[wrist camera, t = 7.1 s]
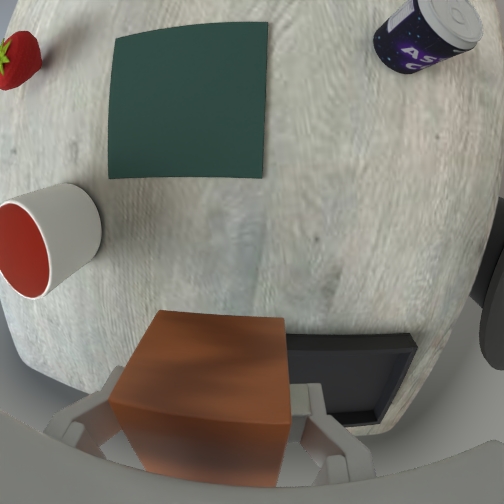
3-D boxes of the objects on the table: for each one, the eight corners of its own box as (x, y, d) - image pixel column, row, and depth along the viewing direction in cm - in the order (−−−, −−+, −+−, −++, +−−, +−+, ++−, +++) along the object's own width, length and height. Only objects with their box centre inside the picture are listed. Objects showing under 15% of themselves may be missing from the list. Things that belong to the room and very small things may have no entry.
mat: (267, 23, 21) (268, 22, 20) (262, 178, 26) (262, 178, 26) (117, 39, 21) (115, 38, 21) (110, 178, 27) (108, 179, 27)
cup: (102, 273, 31) (55, 315, 22) (44, 248, 31) (-6, 279, 21) (111, 192, 28) (52, 214, 18) (49, 174, 27) (-11, 190, 18)
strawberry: (65, 37, 21) (12, 19, 11) (47, 92, 23) (-11, 88, 14) (37, 41, 21) (-14, 29, 11) (21, 92, 23) (-33, 91, 14)
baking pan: (409, 332, 32) (418, 346, 29) (375, 410, 37) (380, 424, 34) (256, 332, 32) (255, 348, 30) (251, 412, 38) (250, 427, 35)
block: (284, 316, 11) (292, 423, 6) (275, 400, 13) (275, 489, 8) (158, 308, 11) (105, 399, 6) (174, 391, 13) (147, 473, 8)
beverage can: (373, 70, 22) (432, 32, 10) (367, 23, 20) (415, -31, 9) (421, 80, 21) (493, 57, 10) (415, 34, 19) (477, -4, 8)
